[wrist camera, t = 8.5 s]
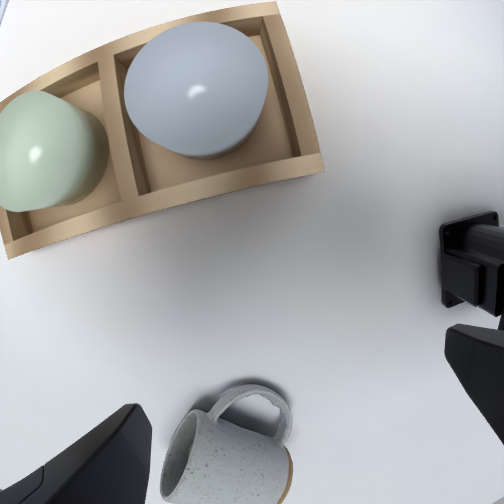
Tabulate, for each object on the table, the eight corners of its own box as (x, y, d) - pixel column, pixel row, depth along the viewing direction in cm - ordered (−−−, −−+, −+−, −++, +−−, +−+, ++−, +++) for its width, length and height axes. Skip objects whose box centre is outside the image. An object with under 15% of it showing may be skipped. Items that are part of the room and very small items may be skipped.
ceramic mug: (249, 472, 23) (254, 537, 16) (166, 445, 22) (151, 512, 15) (313, 397, 22) (340, 468, 14) (216, 359, 21) (209, 435, 13)
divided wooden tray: (270, 24, 16) (275, 1, 13) (311, 173, 18) (324, 171, 15) (10, 118, 16) (-14, 112, 13) (32, 250, 18) (8, 259, 15)
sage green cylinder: (101, 94, 16) (63, 70, 11) (116, 189, 17) (76, 190, 12) (27, 130, 16) (-18, 121, 11) (39, 216, 17) (-7, 225, 12)
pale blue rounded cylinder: (246, 50, 16) (249, 10, 11) (271, 146, 17) (284, 131, 12) (144, 77, 16) (116, 45, 11) (164, 172, 17) (137, 168, 12)
